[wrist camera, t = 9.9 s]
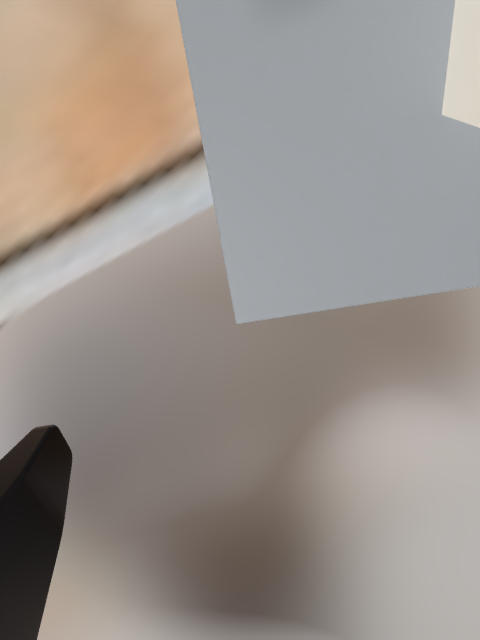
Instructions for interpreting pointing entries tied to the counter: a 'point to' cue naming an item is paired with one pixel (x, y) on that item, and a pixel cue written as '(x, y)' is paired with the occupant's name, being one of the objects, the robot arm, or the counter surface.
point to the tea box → (464, 65)
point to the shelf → (333, 151)
